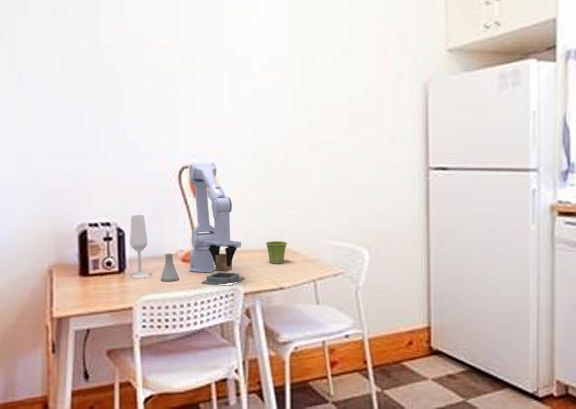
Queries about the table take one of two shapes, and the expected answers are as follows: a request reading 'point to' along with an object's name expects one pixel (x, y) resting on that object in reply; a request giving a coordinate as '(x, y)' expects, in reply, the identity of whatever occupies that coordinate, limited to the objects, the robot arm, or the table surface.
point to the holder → (223, 278)
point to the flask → (169, 269)
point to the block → (222, 263)
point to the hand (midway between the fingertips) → (223, 265)
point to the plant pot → (276, 251)
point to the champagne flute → (138, 240)
